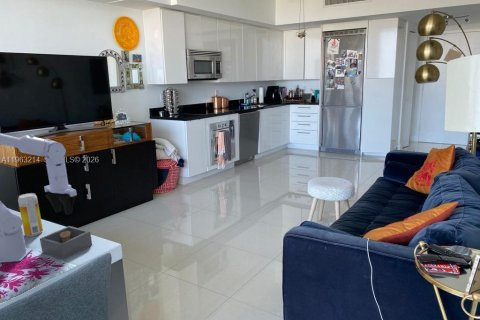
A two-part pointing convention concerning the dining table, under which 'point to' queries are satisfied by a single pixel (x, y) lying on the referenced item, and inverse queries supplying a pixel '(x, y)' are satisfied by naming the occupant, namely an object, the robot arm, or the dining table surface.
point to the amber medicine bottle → (30, 214)
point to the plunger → (65, 236)
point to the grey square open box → (68, 248)
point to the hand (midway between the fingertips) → (63, 212)
